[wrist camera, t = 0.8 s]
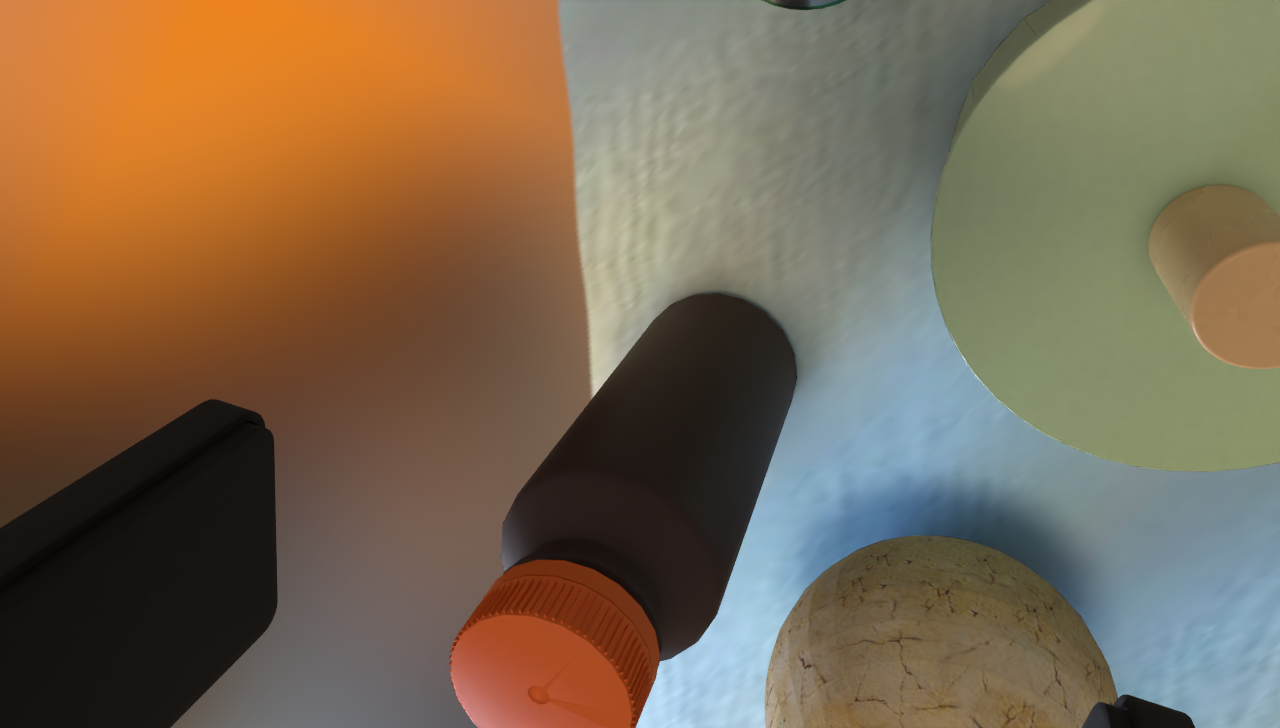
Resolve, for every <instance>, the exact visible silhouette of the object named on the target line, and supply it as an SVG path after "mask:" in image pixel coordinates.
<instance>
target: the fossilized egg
mask: <svg viewBox="0 0 1280 728" xmlns="http://www.w3.org/2000/svg"><path fill="white" fill-rule="evenodd" d="M1117 699H1118V696H1117V692H1116V689H1115V685H1114V681H1113V678H1112V675H1111V672H1110V669H1109V666H1108V664H1107V662H1106V660H1105V658H1104V656H1103V654H1102V652H1101V650H1100V648H1099V647H1098V645H1097V643H1096V641H1095V640H1094V638H1093V636H1092V634H1091V633H1090V631H1089V629H1088V628H1087V626H1086V624H1085V623H1084V621H1083V619H1082V618H1081V616H1080V615H1079V614H1078V613H1077V611H1076V610H1075V609H1074V608H1073V607H1072V606H1071V605H1070V604H1069V603H1068V602H1067V600H1066V599H1065V598H1064V597H1063V596H1062V595H1061V594H1060V593H1059V592H1058V591H1057V590H1056V589H1055V588H1054V587H1053V586H1052V585H1050V584H1049V583H1048V582H1047V581H1045V580H1044V579H1043V578H1042V577H1040V576H1039V575H1038V574H1036V573H1035V572H1034V571H1032V570H1031V569H1030V568H1028V567H1027V566H1026V565H1024V564H1023V563H1021V562H1020V561H1018V560H1016V559H1014V558H1012V557H1010V556H1008V555H1006V554H1004V553H1002V552H1000V551H998V550H996V549H994V548H991V547H988V546H985V545H982V544H978V543H975V542H972V541H969V540H964V539H958V538H952V537H945V536H905V537H899V538H893V539H888V540H883V541H880V542H877V543H874V544H871V545H869V546H866V547H863V548H861V549H858V550H857V551H855V552H853V553H852V554H850V555H848V556H847V557H845V558H843V559H842V560H840V561H839V562H837V563H835V564H834V565H832V566H831V567H830V568H828V569H827V570H826V571H825V572H823V573H822V574H821V575H820V576H819V577H818V578H817V579H816V580H815V581H814V582H813V583H812V584H811V585H809V586H808V587H807V588H806V589H805V591H804V592H803V594H802V595H801V597H800V598H799V600H798V601H797V603H796V604H795V606H794V607H793V609H792V610H791V612H790V614H789V615H788V617H787V618H786V620H785V622H784V624H783V626H782V627H781V629H780V631H779V634H778V637H777V640H776V643H775V646H774V649H773V652H772V656H771V660H770V664H769V668H768V674H767V679H766V690H765V723H766V728H1082V726H1083V724H1084V723H1085V721H1086V719H1087V717H1088V715H1089V713H1090V711H1091V710H1092V708H1093V707H1094V705H1095V704H1097V703H1098V702H1104V703H1107V704H1110V705H1113V704H1114V703H1115V701H1116V700H1117Z"/></svg>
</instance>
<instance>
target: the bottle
mask: <svg viewBox="0 0 1280 728" xmlns="http://www.w3.org/2000/svg"><path fill="white" fill-rule="evenodd" d="M796 380H797V375H796V367H795V358H794V353H793V351H792V349H791V347H790V345H789V343H788V340H787V338H786V336H785V334H784V332H783V330H782V329H781V328H780V327H779V326H778V325H777V324H776V323H775V322H774V321H773V320H772V319H771V318H770V317H769V315H768V314H767V313H766V312H764V311H762V310H761V309H759V308H757V307H755V306H754V305H752V304H750V303H748V302H747V301H745V300H743V299H739V298H734V297H730V296H726V295H722V294H710V295H695V296H692V297H689V298H687V299H684V300H682V301H679V302H677V303H674V304H672V305H670V306H669V307H668V308H667V309H666V310H665V311H663V312H662V313H661V314H660V315H659V316H658V317H657V318H656V319H654V320H653V322H652V323H651V324H650V326H649V327H648V328H647V329H646V331H645V332H644V333H643V334H642V336H641V337H640V338H639V340H638V341H637V342H636V343H635V345H634V346H633V347H632V349H631V350H630V351H629V352H628V354H627V355H626V356H625V358H624V359H623V360H622V361H621V363H620V364H619V365H618V366H617V368H616V369H615V370H614V372H613V373H612V374H611V375H610V377H609V378H608V379H607V381H606V382H605V383H604V384H603V386H602V387H601V388H600V390H599V391H598V392H597V393H596V395H595V396H594V397H593V398H592V400H591V401H590V402H589V404H588V405H587V406H586V407H585V409H584V410H583V411H582V413H581V414H580V415H579V416H578V418H577V419H576V420H575V422H574V423H573V424H572V425H571V427H570V428H569V429H568V431H567V432H566V433H565V434H564V436H563V437H562V439H561V440H560V441H559V442H558V443H557V445H556V446H555V447H554V448H553V450H552V451H551V452H550V454H549V455H548V456H547V457H546V459H545V460H544V461H543V462H542V464H541V465H540V466H539V468H538V469H537V470H536V472H535V473H534V474H533V475H532V477H531V478H530V479H529V480H528V482H527V483H526V484H525V486H524V487H523V488H522V489H521V491H520V492H519V493H518V495H517V497H516V499H515V500H514V503H513V505H512V507H511V508H510V510H509V512H508V514H507V516H506V518H505V520H504V522H503V529H502V541H501V555H500V557H501V560H502V564H503V568H504V571H505V572H504V573H503V575H502V576H501V577H500V578H498V579H497V580H496V581H495V582H494V584H493V585H492V587H491V588H490V590H489V591H488V592H487V594H486V595H485V597H484V598H483V600H482V602H481V603H480V604H479V605H478V607H477V608H476V609H475V611H474V612H473V614H472V615H471V617H470V618H469V619H468V621H467V622H466V624H465V625H464V626H463V628H462V629H461V631H460V632H459V633H458V635H457V637H456V639H455V640H454V641H455V642H454V643H453V645H452V647H453V648H452V650H451V651H450V652H451V653H452V654H451V656H450V657H449V659H451V662H450V663H449V665H450V666H451V668H450V670H449V671H450V672H451V676H450V678H452V681H453V682H452V685H454V687H455V689H454V691H455V692H456V694H457V698H458V699H459V701H460V704H461V705H462V706H463V707H464V711H466V712H467V714H468V715H469V717H470V718H471V719H472V721H473V722H474V723H475V724H476V725H477V726H478V727H479V728H636V725H637V723H638V720H639V718H640V715H641V713H642V710H643V708H644V705H645V703H646V700H647V698H648V696H649V694H650V691H651V689H652V686H653V684H654V681H655V679H656V674H657V669H658V666H659V662H660V661H663V660H668V659H671V658H673V657H674V656H676V655H677V654H679V653H681V652H682V651H684V650H686V649H687V648H689V647H690V646H692V645H694V644H695V643H696V642H698V641H699V639H700V638H701V636H702V635H703V634H704V632H705V631H706V630H707V628H708V627H709V625H710V624H711V623H712V621H713V620H714V618H715V617H716V615H717V613H718V610H719V607H720V604H721V601H722V599H723V596H724V593H725V590H726V587H727V584H728V581H729V579H730V576H731V573H732V570H733V567H734V564H735V561H736V558H737V556H738V553H739V550H740V547H741V544H742V541H743V538H744V536H745V533H746V530H747V527H748V524H749V521H750V518H751V516H752V513H753V510H754V507H755V504H756V501H757V498H758V496H759V493H760V490H761V487H762V484H763V481H764V478H765V476H766V473H767V470H768V467H769V464H770V461H771V458H772V455H773V453H774V450H775V447H776V444H777V441H778V438H779V435H780V433H781V430H782V427H783V424H784V421H785V418H786V415H787V413H788V410H789V407H790V404H791V401H792V397H793V393H794V389H795V384H796Z"/></svg>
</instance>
